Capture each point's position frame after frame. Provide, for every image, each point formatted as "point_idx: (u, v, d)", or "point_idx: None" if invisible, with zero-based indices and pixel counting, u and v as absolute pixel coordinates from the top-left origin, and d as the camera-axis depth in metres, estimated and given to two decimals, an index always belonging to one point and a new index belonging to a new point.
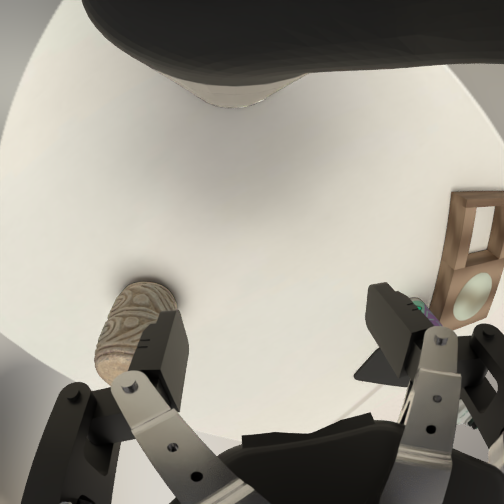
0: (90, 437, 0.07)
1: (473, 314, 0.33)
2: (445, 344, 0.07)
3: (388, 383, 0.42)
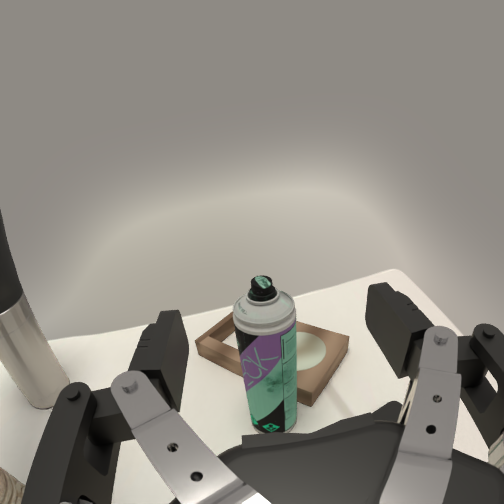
0: (90, 437, 0.07)
1: (324, 350, 0.38)
2: (445, 344, 0.07)
3: None
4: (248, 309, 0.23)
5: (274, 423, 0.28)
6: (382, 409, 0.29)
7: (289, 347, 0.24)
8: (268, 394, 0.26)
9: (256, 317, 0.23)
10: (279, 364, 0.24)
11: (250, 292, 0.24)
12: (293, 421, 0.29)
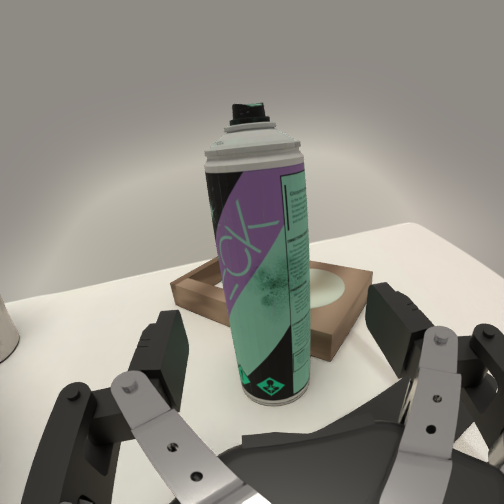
0: (90, 437, 0.07)
1: (342, 285, 0.28)
2: (445, 344, 0.07)
3: (460, 428, 0.13)
4: (227, 138, 0.14)
5: (275, 376, 0.18)
6: None
7: (297, 210, 0.15)
8: (265, 310, 0.16)
9: (239, 142, 0.13)
10: (280, 241, 0.15)
11: (231, 120, 0.15)
12: (306, 379, 0.20)
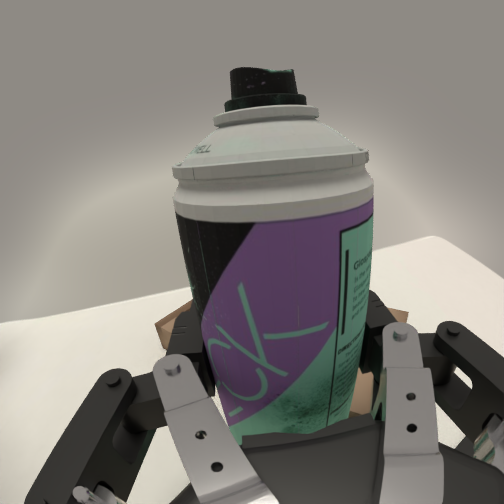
0: (124, 424, 0.07)
1: None
2: (403, 340, 0.08)
3: None
4: (217, 138, 0.06)
5: None
6: None
7: (361, 293, 0.07)
8: None
9: (245, 149, 0.06)
10: (326, 354, 0.07)
11: None
12: None
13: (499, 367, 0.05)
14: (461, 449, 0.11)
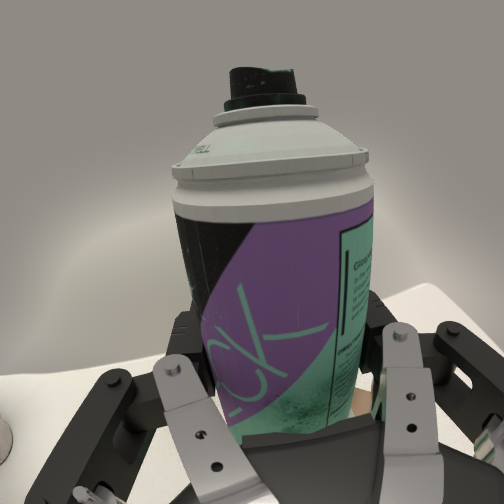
0: (124, 424, 0.07)
1: None
2: (403, 340, 0.08)
3: None
4: (217, 138, 0.06)
5: None
6: None
7: (361, 293, 0.07)
8: None
9: (244, 149, 0.06)
10: (326, 355, 0.07)
11: None
12: None
13: (499, 367, 0.05)
14: None
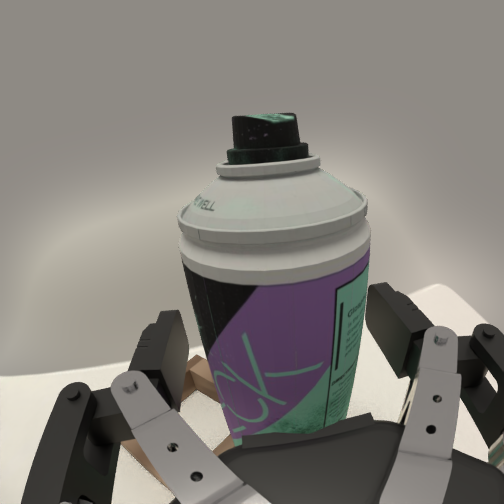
0: (90, 437, 0.07)
1: None
2: (445, 344, 0.07)
3: None
4: (221, 195, 0.07)
5: None
6: None
7: (354, 333, 0.08)
8: None
9: (248, 213, 0.06)
10: (321, 386, 0.08)
11: None
12: None
13: None
14: None
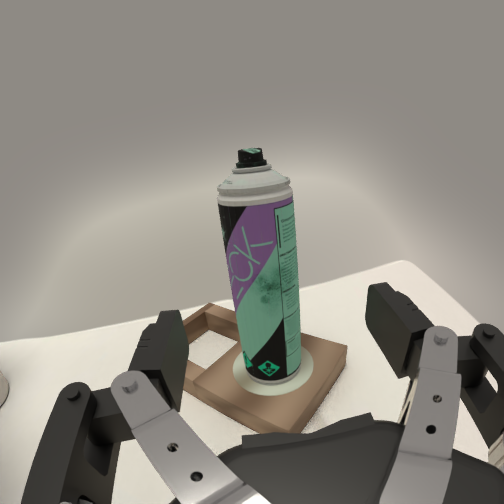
0: (90, 437, 0.07)
1: (311, 366, 0.26)
2: (445, 344, 0.07)
3: None
4: (234, 178, 0.19)
5: (272, 360, 0.23)
6: None
7: (287, 232, 0.20)
8: (263, 306, 0.21)
9: (243, 183, 0.19)
10: (274, 255, 0.20)
11: (237, 163, 0.20)
12: (297, 363, 0.25)
13: None
14: None
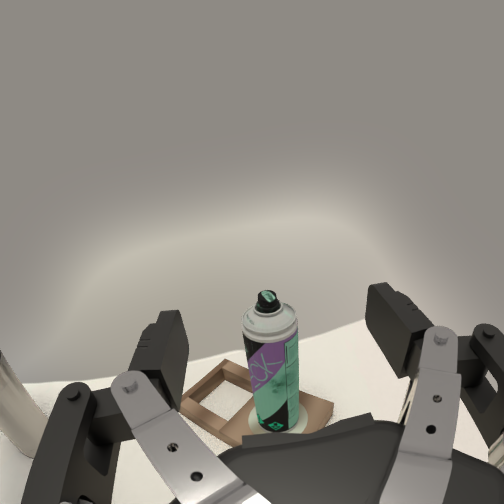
0: (90, 437, 0.07)
1: (306, 420, 0.33)
2: (445, 344, 0.07)
3: None
4: (255, 320, 0.26)
5: (278, 421, 0.30)
6: None
7: (292, 353, 0.27)
8: (273, 394, 0.28)
9: (263, 327, 0.26)
10: (283, 368, 0.27)
11: (257, 305, 0.27)
12: (296, 420, 0.32)
13: None
14: None
